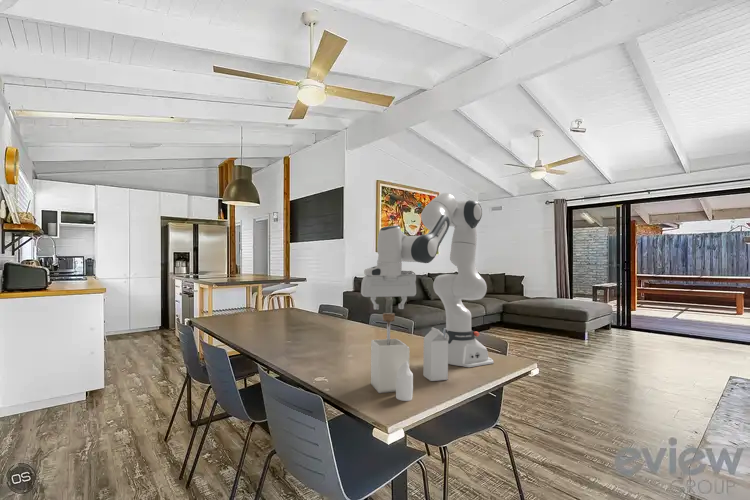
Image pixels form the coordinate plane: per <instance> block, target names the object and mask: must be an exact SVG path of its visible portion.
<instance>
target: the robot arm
mask: <svg viewBox="0 0 750 500" xmlns="http://www.w3.org/2000/svg"><path fill="white" fill-rule="evenodd" d="M482 217H483V209H482V206H481V204H480V203H479V201H475V200H472V199H471V200H470V199H469V200H457V199H456V198H455V196H454V195H452V194H451V193H449V192H443V193H441V194H439V195H437V196H435V198H433V199H431V201H429V203H427V205H425V207H424V208H423V209H422V211H421V213H420V218H421V222H422V224H423V226H424V227H425V228H426V229H427V230H429V231H428V233H426V234H422V235H411V236H410V235H407V234H405V233H403V231H402V230H401V226H398V225H389V226H384V227H380V229H379V230H378V231H379V232H378V236H377V244H376V245H377V248H376V249H377V254H378V257H377V261H376V263H377V264H376V265H375V266H371V267H369V268H366V269H364V272H363V273H364V276H363V278H362V280H361V286H360V294H361V296H362V297H365V298H370V301H371V303H372V305H373V310H379V309H380V304H379V303H377V301H376V300H377V298H378V297H381V298H383V297H385V298H386V297H387V298H388V297H401V298H400V299H401V302H400V303H398V309H399V310H404V309H405V303H406V301H408V297H415V296H416V294H417V283H416V281H417V274H416V273H415V272H413V270H402V262H404V263H405V262H406V263H423V264H429V263H431V262H432V261H433V260H434V259H435V258H436V257H437V253H438V250H439V246H440V245H441V243H442V242H443V239H444V238H445V237H446V235H447V233H448V231H449V228H450V227H454V229H453V233H452V238H451V244H450V245H451V246H450V252H449V253H450V254H449V260H450V262H451V263H452V264H453V265H454V266H456V268H457V274H456V273H455V274H454V273H445V274H440V275H437V276H436V277H435V278H434V281H433V284H432V287H433V291H434V293H435V294H436V296H438V297H439V299H440V300H441V303H442V305H443V307H444V310H445V311H444V312H445V329H444V330H445V331H444V337H445V338H446V339H447V340H448V365H451V366H459V367H465V368H472V367H479V366H484V365H485V366H487V365H493V364H494V360H493V358H491V357H489V353H488V352H489V351H488V349H487V347H486V346H484V344H482V343H481V342H480V341H479V340H477V337H479V336H480V332H479V331H475V330H472V313H471V311H470V310H469V309H468V307H467V308H466V306H465V305H464V303H463V302H462V301H463V300H464V301H465V300H466V301H476V300H482V299H483V298H484V297H485V295H486V294H487V291H488V289H487V288H488V285H487V282H486V281H485V279H484V278H483V276H482V275H480V274H479V272H478V269H477V266H476V250H477V239H478V238H477V237H478V235H477V226H478V224H479V223H480V221H481V219H482Z"/></svg>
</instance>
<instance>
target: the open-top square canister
mask: <svg viewBox="0 0 750 500" xmlns="http://www.w3.org/2000/svg"><path fill="white" fill-rule="evenodd" d="M370 341H371V342H370V343H371V346H370V348H371V349H370V385H371V386H372V387H373V388H374V389H375V390H376V392H377V393H378V394H386V393H387V394H388V393H396V377H397V372H398V369H399V368H400V367H401V365H402V364H403V363H405V362H408V364H409V365H410V346H408V345H407V344H406V343H404V341H402V340H400V339H398V338H390V345H387V338H384V339H370Z"/></svg>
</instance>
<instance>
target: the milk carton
mask: <svg viewBox="0 0 750 500" xmlns="http://www.w3.org/2000/svg"><path fill="white" fill-rule="evenodd" d="M422 367H423V368H422V369H423V373H422V374H423V377H424V378H426V379H427V380H428V381H430V382H436V381H447V380H449V375H448V374H449V364H448V340H447V339H446V338H445V333H443V332H442V331H441V330H440V329H437V328H435V327H431V330H430V331H429V332H428V333H427V334H426V335H425V336H424V337H423V366H422Z"/></svg>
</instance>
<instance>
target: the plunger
mask: <svg viewBox="0 0 750 500" xmlns="http://www.w3.org/2000/svg"><path fill="white" fill-rule="evenodd" d="M395 321H396V313H394V312H383V313H382V322H386V339H387V345H390V339H391V322H395Z"/></svg>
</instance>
